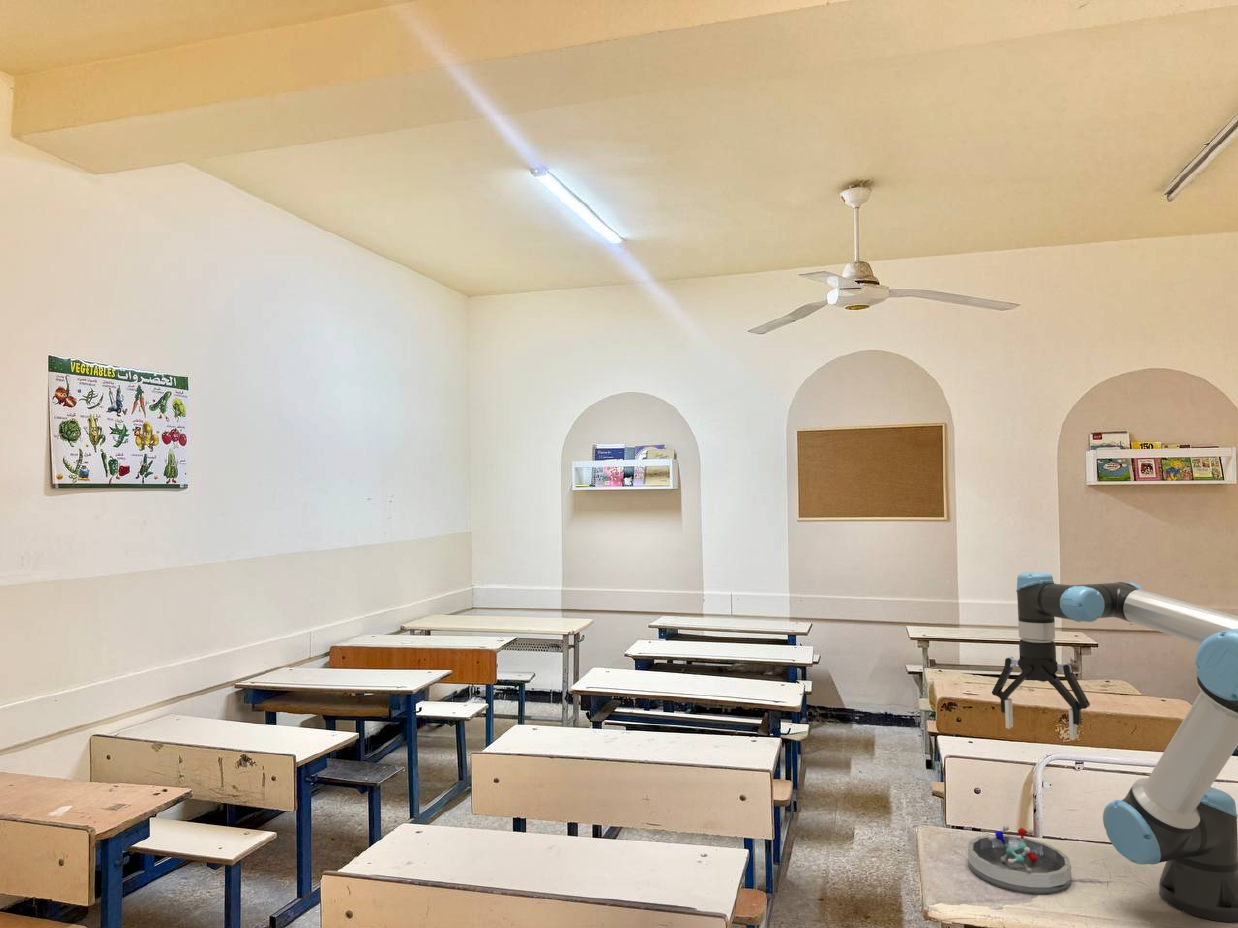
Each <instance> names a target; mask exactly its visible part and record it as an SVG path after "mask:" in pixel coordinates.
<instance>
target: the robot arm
mask: <svg viewBox="0 0 1238 928" xmlns="http://www.w3.org/2000/svg"><path fill="white" fill-rule="evenodd" d="M1015 591H1016V595H1017V598H1016V599H1017V615H1018V617H1017V618H1018V620H1017V621H1018V622H1017V623H1018V637H1019V638H1020V639H1019V640H1018V641H1019V642H1018V647H1019V648H1018V649H1019V658H1018V659H1017V658H1014V657H1013V656H1008V657H1006V658H1005V660H1004V667H1003V669H1002V672H1001V673H1000V675H999V677H998V680H996V682H995V685H994V687H993V688H992V691H991V694H992V696H996V697H998V698H999V700H1000V711H1001V713H1002V714H1003V713H1004V715H1005V717H1004V719H1005V729H1008V730H1010V729H1011V728H1013V727H1014V716H1013V711H1014V710H1013V698H1010V696H1011V694H1012V693H1014V692H1015V691H1016V690H1017V689H1018V688H1019V686H1020V685H1022V683H1023V682H1024V681H1026V679H1028V680H1030V681H1039V682H1042V683H1046V682H1048V683H1049V684H1050V685H1051V686H1052V687H1054V689H1055V690H1056V691H1057V693H1058V694H1060V695H1061V698H1062V699H1064V701H1065V702H1066V703H1067V704H1068V706H1070V708H1069V709H1068V729H1069V730H1068V733H1069V741H1070V740H1071V741H1074V740H1076V739H1077V738H1078V734H1077V733H1078V732H1077V731H1078V730H1077V729H1078V728H1077V725H1078V726H1079V725H1080V724H1081V722H1082V711H1081V710H1086V709H1087V708H1089V707H1090V706H1091V704H1090V701H1089V700H1088V698H1087V696H1086V694H1085V692H1084V690H1083V689H1082V686H1081V685H1080V683H1079V681H1078V679H1077V678H1076V676H1075V674H1074V670H1073V665H1072V664H1071V663H1066V664H1062V663H1061V664H1060V663H1059V664H1058V662H1057V652H1056V646H1057V645H1056V642H1055V641H1054V640H1055V639H1056V628H1055V627H1056V623H1055V622H1056V621H1055V618H1059V619H1065V620H1071V621H1074V622H1078V623H1081V622H1085V623H1086V622H1087V623H1092V622H1093V623H1094V622H1095V621H1097V620H1098V619H1105V618H1107V619H1108V618H1116V619H1120V620H1123V621H1125V622H1130V623H1133V624H1136V625H1138V626H1142V627H1145V628H1148V629H1152V630H1154V631H1157V632H1161V633H1163V634H1166V635H1169V636H1173V637H1175V638H1179V639H1182V640H1184V641H1188V642H1191V643H1193V644H1197V645H1199V647H1198V648H1197V651H1196V653H1195V657H1194V658H1195V659H1194V664H1195V665H1194V666H1197V669H1196V675H1197V677H1196V678H1195V679H1196V685H1197V687H1198V689H1199V691H1200V692H1199V693H1198V695H1197V697H1196V699H1195V700H1194V701H1193V704H1192V705H1191V707H1190V708H1189V710H1188V712H1187V713H1186V715H1185V716H1184V718H1183V720H1182V721H1181V723H1180V725H1179V726H1178V728H1177V730H1176V731H1175V733H1174V735H1173V737H1172V738H1171V740H1170V742H1168V745H1167V746H1166V748H1165V750H1164V752H1163V753H1162V755H1161V756H1160V758H1159V760H1158V761H1157V763H1156V765H1155V766H1154V768H1153V769H1152V771H1151V772H1150V774H1149V777H1147V778H1145V777H1144V778H1139V779H1137V780H1135V781H1134V783H1133V784H1132V786H1131V787H1130V788H1129V790H1128V792H1127V794H1126V796H1125V797H1124V798H1122V799H1115V800H1113V801H1111V802H1109V803H1108V804H1107V805H1106V806H1105V807H1104V809H1103V813H1102V822H1103V827H1104V829H1105V833H1106V835H1107V838H1108V840H1109V842H1110V843H1111V845H1112V846H1113V848H1114V849H1115V850H1116V852H1118V853H1119V854H1120V855H1121V856H1122V857H1123V858H1124V859H1126V860H1127V861H1129V862H1131V863H1134V864H1137V865H1153V866H1154V865H1158V864H1160V863H1164V867H1163V869H1162V873H1161V875H1160V878H1159V881H1158V890H1159V892H1158V893H1159V897H1161V899H1162V900H1163V901H1164V902H1165V903H1167V904H1168V905H1170V906H1171V907H1174V908H1175V909H1176V910H1178V911H1182V912H1184V913H1186V914H1188V915H1191V916H1195V917H1198V918H1202V919H1205V920H1212V921H1215V922H1216V921H1217V922H1224V923H1225V922H1227V923H1237V922H1238V814H1237V805H1236V801H1235V799H1234V798H1233V797H1232V796H1231V795H1230V794H1229V793H1227V792H1225V791H1223V790H1221V789H1218V788H1215V787H1212V785H1213V784H1214V783H1215V781H1216V780H1217V778H1218V776H1219V775H1220V773H1221V771H1222V770H1223V768H1224V767H1225V765H1226V764H1227V763H1228V761H1229V759H1230V758H1231V756H1232V755H1233V754H1234V752H1235V751H1236V749H1237V747H1238V615H1235V614H1231V613H1228V612H1223V611H1220V610H1216V609H1213V608H1209V607H1206V606H1201V605H1198V604H1195V603H1191V602H1187V601H1183V600H1179V599H1178V598H1177V599H1176V598H1172V597H1169V596H1165V595H1162V594H1158V593H1154V592H1151V591H1146V590H1145V589H1143V588H1142V587H1141V586H1140V585H1139V584H1137V583H1134V582H1123V581H1118V582H1117V581H1116V582H1108V583H1107V582H1105V583H1088V584H1063V583H1055V581H1054V577H1053V574H1051V573H1048V572H1040V571H1039V572H1035V571H1033V572H1030V571H1029V572H1021V573H1018V575H1017V578H1016V590H1015ZM1016 666H1018V667H1019V669H1020V670H1021V672H1020V673H1019V674H1018V676H1017V677H1016V678H1015V679H1013V681H1012V682H1010V684H1009V685H1008V686H1007V687H1006V688H1005V689H1004V690H1003V688H1004V686H1005V685H1006V683H1007V681H1008V679H1009V677H1010V675H1011V673H1012V671H1013V669H1014V668H1015V667H1016ZM1058 671H1060V672H1061V674H1062V675H1064V678H1065V680H1066V682H1067V683H1068V685H1069V687H1070V688H1071V691H1072V692H1073V694H1074V695H1073V694H1072V693H1071V691H1070V690H1068V688H1067V687H1066V685H1064V683H1063V682H1062V681H1061V680H1060V678H1059V676H1058V675H1057V674H1056V673H1057V672H1058Z"/></svg>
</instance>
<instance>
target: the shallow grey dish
mask: <svg viewBox="0 0 1238 928" xmlns="http://www.w3.org/2000/svg"><path fill="white" fill-rule="evenodd" d="M989 835H990V834H987V835H986V834H985V835H982V836H976V837H974V838H973V839H971V840H970V841H969V842H968V845H967V854H968V855H967V856H968V857H967V859H968V861H967V862H968V868H969V870H970V871H971V872H972V874H974V875H975V876H976V877H977V878H979V879H980V880H981V881H983V882H985V883H986V884H989V885H992V886H994V887H996V888H999V889H1003V890H1006V891H1008V892H1009V891H1010V892H1014V893H1018V894H1019V893H1020V894H1024V895H1025V894H1026V895H1035V896H1036V895H1037V896H1042V895H1043V896H1046V895H1055V894H1060V893H1063V892H1065V891H1066V890H1067V889H1069V888H1070V887H1071V884H1072V883H1071V882H1072V881H1071V880H1072V865H1071V861H1070V857H1068V855H1066V854H1065V853H1064V852H1063V851H1062V850H1061V849H1058V848H1056V847H1054V846H1052V845H1050V844H1048V843H1045V842H1042V841H1039V840H1035V839H1033V838H1029V837H1025V836H1024V844H1026V845H1027V847H1028V848H1030V852H1031V853H1032V854H1033V855H1035V856H1036V857H1037V861H1036V862H1031V861H1030V859H1029V857H1028V856H1027V854H1026V855H1025V856H1024V859H1025V861H1024V863H1025V864H1026V865H1027V867H1028V868H1030V869H1031V870H1032V872H1031V873H1027V872H1026V871H1025V868H1024V866H1023V865H1022V864H1020V863H1018V862H1014V864H1013V865H1010V864H1009V863H1008V859H1015V856H1014V855H1012V856H1010V855H1009V856H1008V857H1007V858H1006V862H1005V863H1003V862H1001V860H1000V858H1001V857H1004V856H1005V854H1006V847H1005V845H1004V844H1003V842H1002V841H1001V840H998V839H997V838H996V839H994V840H993V841H990V840H989V839H988V836H989ZM991 835H992V836H994V835H995V834H991ZM1003 835H1004V837H1003V839H1004V840H1005V842H1006V843H1007V845H1008V846H1010V847H1013V848H1016V847H1018V845H1019V843H1021V836H1020V835H1019V836H1018V835H1011V834H1003ZM1015 853H1016V854H1017V855H1018V854H1022V853H1023V852H1022V851H1020V850H1018V851H1015Z"/></svg>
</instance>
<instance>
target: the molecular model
mask: <svg viewBox="0 0 1238 928" xmlns="http://www.w3.org/2000/svg"><path fill="white" fill-rule="evenodd" d="M1009 830H1010V827H1009V825H1007V824H1004V825H1003V826H1002V830H1001V831H996V832H995V834H988V835H989V836H988V839H989V840H990V841H993V840H994V839H996V838H997V839H998V840H1001V841H1002V842H1003V844H1004V845H1005V847H1006V854H1005V856H1004V857H1001V858H1000V860H1001V862H1003V863H1005V862H1006V858H1007V857H1008V856H1009V855H1010V856H1012V855H1014V856H1015V859H1008V863H1009V864H1010V865H1013V864H1014V862H1018V863H1020V864H1022V865H1023V866H1024V868H1025V871H1026V872H1027V873H1031V872H1032V870H1031V869H1030V868H1028V867H1027V865H1026V864H1025V863H1024V861H1025V859H1024V856H1025V855H1026V854H1027V856H1028V857H1029V859H1030V861H1031V862H1036V861H1037V857H1036V856H1035V855H1033V854H1032V853H1031V852H1030V848H1028V847H1027V845H1026V844H1024V837H1025V835H1026V834H1028V835H1030V836H1031V835H1033V834H1034V830H1033V829H1032V828H1027V829H1025V828H1022V827H1019V828H1018V830H1017V832H1018V835H1019V836H1020V837H1021V843H1019V845H1018V847H1016V848H1013V847H1010V846H1008V845H1007V843H1006V842H1005V840H1004V839H1003V837H1004V835H1005V832H1007V831H1009ZM992 835H994V836H992ZM1018 850H1020V851H1022V852H1023V853H1022V854H1018V855H1017V854H1016V853H1015V851H1018Z"/></svg>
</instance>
